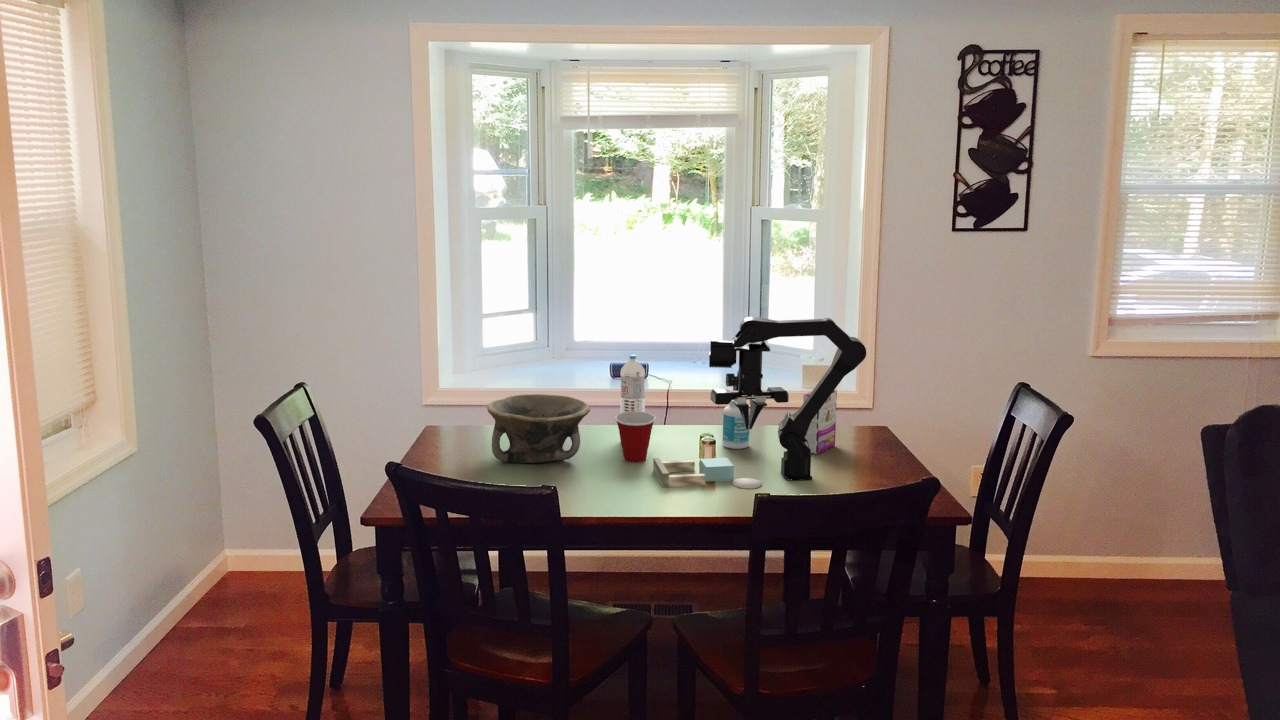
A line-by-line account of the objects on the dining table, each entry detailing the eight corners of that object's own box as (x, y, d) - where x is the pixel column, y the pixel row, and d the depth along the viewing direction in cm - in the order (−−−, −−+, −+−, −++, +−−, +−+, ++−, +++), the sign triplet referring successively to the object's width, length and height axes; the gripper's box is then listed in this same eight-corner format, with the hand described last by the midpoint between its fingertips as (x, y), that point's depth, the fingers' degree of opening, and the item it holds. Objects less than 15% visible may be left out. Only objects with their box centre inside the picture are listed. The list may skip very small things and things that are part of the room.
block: (726, 472, 249) (726, 457, 249) (733, 481, 243) (733, 465, 242) (699, 473, 248) (699, 458, 247) (706, 482, 241) (706, 467, 241)
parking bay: (693, 469, 251) (693, 456, 250) (704, 485, 238) (705, 471, 238) (653, 471, 249) (653, 458, 248) (662, 487, 237) (662, 473, 236)
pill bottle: (736, 451, 267) (737, 403, 265) (716, 445, 273) (717, 398, 270) (754, 446, 272) (756, 399, 270) (735, 440, 278) (736, 394, 275)
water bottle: (644, 445, 272) (644, 357, 267) (619, 445, 272) (620, 357, 268) (644, 438, 279) (645, 353, 274) (620, 438, 279) (621, 352, 274)
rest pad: (756, 479, 244) (756, 477, 243) (764, 487, 237) (764, 486, 237) (729, 480, 242) (729, 478, 242) (736, 489, 236) (737, 487, 236)
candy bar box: (819, 443, 276) (821, 386, 273) (835, 446, 273) (838, 389, 270) (800, 451, 267) (802, 393, 264) (817, 455, 264) (819, 396, 261)
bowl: (609, 455, 263) (609, 401, 260) (547, 480, 241) (546, 421, 239) (532, 439, 278) (531, 388, 275) (467, 461, 256) (466, 406, 253)
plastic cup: (614, 466, 253) (615, 421, 251) (614, 454, 264) (614, 411, 262) (656, 465, 254) (657, 421, 251) (654, 453, 264) (654, 410, 262)
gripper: (776, 361, 251) (774, 419, 254) (706, 362, 248) (704, 422, 251) (790, 369, 240) (788, 431, 243) (716, 371, 237) (715, 433, 240)
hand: (748, 429), depth 244 cm, fingers closed
